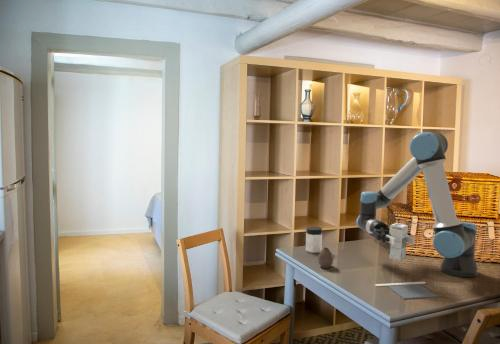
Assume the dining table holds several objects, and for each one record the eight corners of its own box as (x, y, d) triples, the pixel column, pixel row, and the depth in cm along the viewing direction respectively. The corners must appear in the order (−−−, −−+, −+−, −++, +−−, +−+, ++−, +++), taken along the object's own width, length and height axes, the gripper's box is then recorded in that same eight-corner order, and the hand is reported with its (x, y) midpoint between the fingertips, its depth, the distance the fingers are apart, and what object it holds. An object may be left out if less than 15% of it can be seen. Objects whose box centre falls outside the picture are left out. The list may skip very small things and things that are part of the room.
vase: (327, 263, 193) (328, 245, 192) (335, 268, 187) (336, 249, 186) (315, 264, 191) (315, 246, 190) (322, 269, 184) (323, 250, 184)
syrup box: (392, 255, 177) (394, 222, 175) (406, 258, 173) (408, 224, 172) (387, 258, 173) (389, 224, 171) (401, 261, 169) (403, 227, 167)
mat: (418, 285, 168) (418, 284, 167) (437, 297, 156) (437, 296, 156) (387, 287, 165) (387, 286, 165) (403, 299, 153) (403, 298, 153)
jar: (308, 253, 209) (309, 230, 208) (302, 248, 217) (303, 226, 216) (324, 252, 211) (325, 229, 210) (318, 247, 219) (319, 226, 218)
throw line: (423, 282, 171) (423, 281, 171) (425, 283, 169) (425, 283, 169) (375, 285, 167) (375, 284, 167) (376, 286, 165) (376, 285, 165)
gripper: (397, 235, 192) (426, 249, 169) (356, 237, 188) (380, 251, 166) (397, 220, 191) (427, 232, 169) (356, 221, 187) (381, 233, 165)
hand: (404, 241), depth 167 cm, fingers closed on syrup box, 8 cm apart
